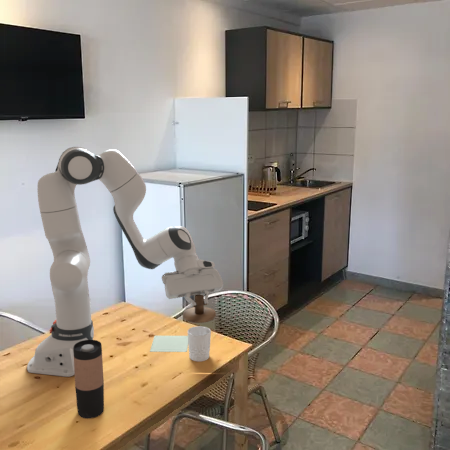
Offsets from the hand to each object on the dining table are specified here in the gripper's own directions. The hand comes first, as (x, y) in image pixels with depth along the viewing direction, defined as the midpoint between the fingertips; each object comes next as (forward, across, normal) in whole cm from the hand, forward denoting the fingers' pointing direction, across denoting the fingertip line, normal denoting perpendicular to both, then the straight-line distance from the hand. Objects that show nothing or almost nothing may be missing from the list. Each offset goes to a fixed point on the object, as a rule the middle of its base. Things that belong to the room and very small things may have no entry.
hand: (200, 305), depth 167 cm
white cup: (+13, 0, +14) cm, 20 cm away
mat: (+4, -6, +24) cm, 25 cm away
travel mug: (+25, -40, +2) cm, 47 cm away
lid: (+2, 0, +3) cm, 4 cm away
